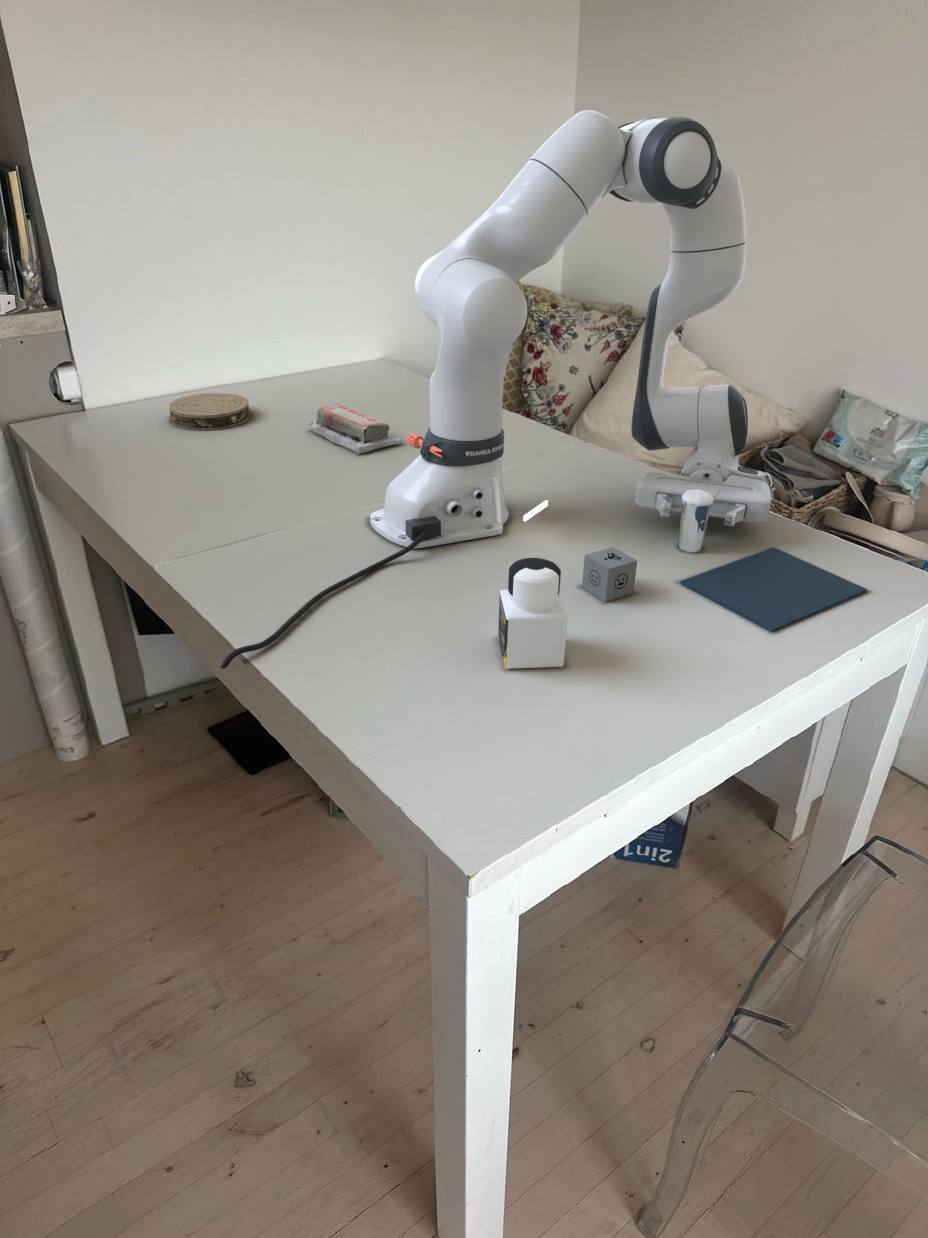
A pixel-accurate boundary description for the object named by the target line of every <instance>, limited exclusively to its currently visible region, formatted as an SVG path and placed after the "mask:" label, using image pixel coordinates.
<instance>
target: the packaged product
mask: <svg viewBox="0 0 928 1238" xmlns="http://www.w3.org/2000/svg"><path fill="white" fill-rule="evenodd" d="M309 430H310V431H311V432H313V433H315V434H317V435H319V436H321V437H323V438H325V439H326V440H328V441H330V442H331V443H333V444H336V445H339V446H342V447H344V448H346V449H347V450H350V451H352V452H354V453H356V454H358V455H360V454H364V453H367V452H370V451H374V450H377V449H381V448H384V447H388V446H393V445H401V440H402V439H401V437H398V436H396V435H393V434H390V433H389V431H390V425H389V424H388V423H386V422H383V421H381V420H379V419H377V418H374V417H372V416H371V415H368V414H366V413H363V412H362V411H359V410H358V409H355V408H353V407H350V406H348V405H346V404H343V403H336V404H331V405H326V406H323V407H319V408H317V409H316V422H314V423H313V422H311V423H310V424H309Z"/></svg>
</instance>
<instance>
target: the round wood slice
mask: <svg viewBox="0 0 928 1238" xmlns="http://www.w3.org/2000/svg"><path fill="white" fill-rule="evenodd" d="M168 408H169V415H170V421H171V423H172V424H173V425H174V426H175V427H178V428H180V429H183V430H184V429H185V430H192V431H213V430H214V431H216V430H223V429H229V428H233V427H236V426H239V425H242V424H244V423H246V422H247V421H248V420H249V419H250V416H251V415H250V406H249V400H248V399H247V398H246V397H244V396H242V395H239V394H234V393H227V392H205V393H197V394H190V395H185V396H182V397H180V398H177V399H174V400H173V401H172V402H170V404H169V406H168Z"/></svg>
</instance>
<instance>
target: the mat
mask: <svg viewBox="0 0 928 1238" xmlns="http://www.w3.org/2000/svg"><path fill="white" fill-rule="evenodd" d="M679 584H680V585H683V586H684V587H686V588H688V589H690V590H693V591H694V592H696V593H698V594H699V595H701V596H703V597H705V598H707V599H709V600H711V601H713V602H715V603H716V604H718V605H720V606H722V607H724V608H726V609H728V610H730V611H731V612H733V613H735V614H737V615H739V616H741V617H743V618H745V619H746V620H748V621H750V622H752V623H754V624H755V625H757V626H760V627H762V628H764V629H765V630H767V631H769V632H771V633H773V632H776V631H778V630H780V629H783V628H784V627H787V626H790V625H792V624H794V623H796V622H799V621H801V620H803V619H807V618H809V617H810V616H813V615H816V614H818V613H820V612H822V611H825V610H827V609H829V608H832V607H834V606H837V605H839V604H841V603H844V602H846V601H848V600H850V599H853V598H855V597H857V596H860V595H863V594H864V593H866V592H868V589H867V588H865V587H864V586H861V585H859V584H857V583H855V582H852V581H850V580H848V579H845V578H843V577H841V576H838V575H836V574H835V573H832V572H830V571H827V570H826V569H823V568H821V567H819V566H817V565H814V564H812V563H810V562H807V561H805V560H803V559H801V558H798V557H797V556H794V555H793V554H789V553H788V552H785V551H783V550H781V549H778V548H776V547H771V548H768V549H766V550H763V551H760V552H758V553H755V554H751V555H749V556H746V557H744V558H740V559H738V560H735V561H732V562H729V563H726V564H724V565H721V566H718V567H715V568H713V569H710V570H707V571H704V572H701V573H699V574H696V575H693V576H690V577H687V578H685V579H682V580H680V582H679Z"/></svg>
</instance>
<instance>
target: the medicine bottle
mask: <svg viewBox="0 0 928 1238" xmlns="http://www.w3.org/2000/svg"><path fill="white" fill-rule="evenodd" d="M561 575H562V570H561V568H560V566H558V565H557V564H556V563H555V562H553V561H551V560H550V559H549V560H548V559H546V558H540V557H525V558H520V559H518V560H516V561H514V562H513V563H512V564H511V565H510V566H509V568H508V581H507V582H508V583H507V589H505V588H503V589H501V590H500V591H499V601H498V603H499V604H498V625H497V626H498V630H497V631H498V632H497V640H498V644H499V648H500V652H501V658H502V661H503V666H504V669H506V670H510V669H512V670H513V669H541V668H542V669H543V668H562V667H564V665H565V655H566V654H565V652H566V643H567V631H568V630H567V629H568V617H569V616H568V614H567V611H566V609H565V606H564V603H563V600H562V597H561V595H560V591H561Z"/></svg>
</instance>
